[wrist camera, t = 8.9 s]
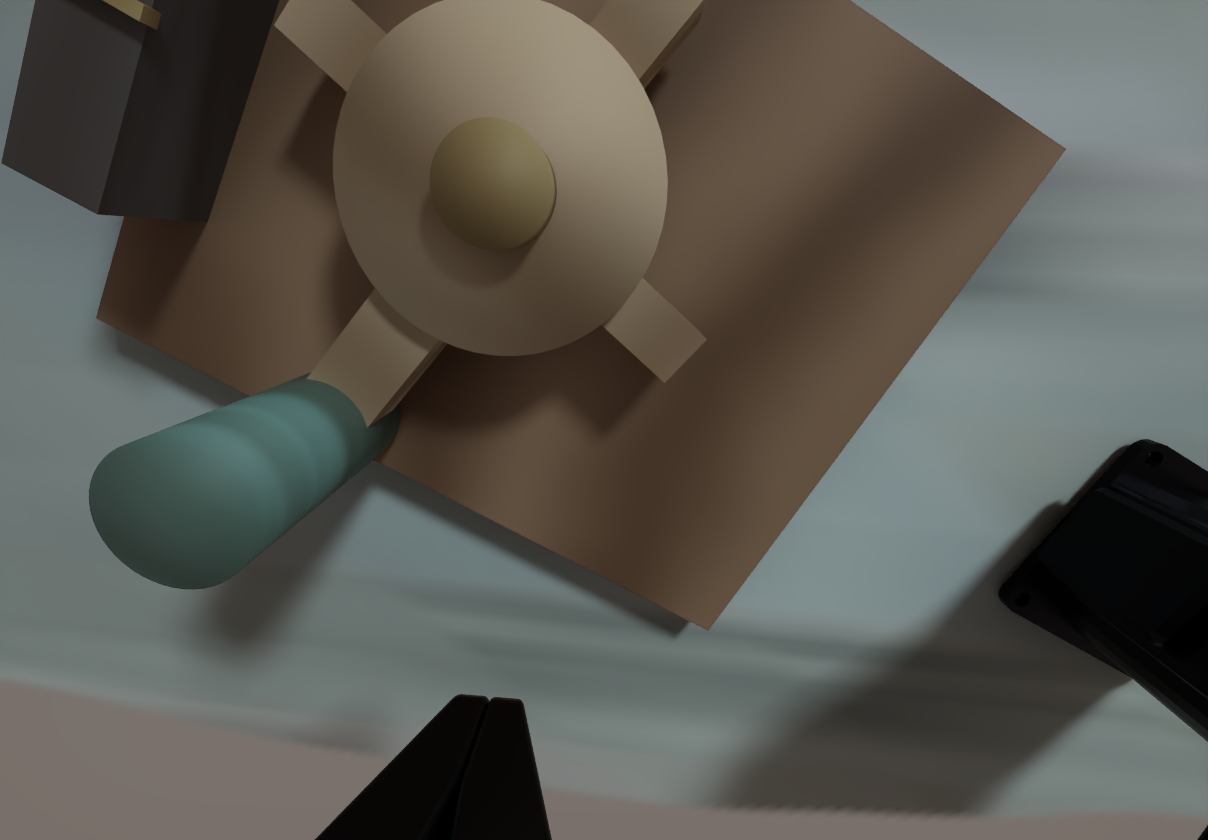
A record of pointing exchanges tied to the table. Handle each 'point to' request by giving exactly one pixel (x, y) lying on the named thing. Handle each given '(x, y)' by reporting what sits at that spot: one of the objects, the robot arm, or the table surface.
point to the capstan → (432, 254)
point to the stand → (598, 360)
